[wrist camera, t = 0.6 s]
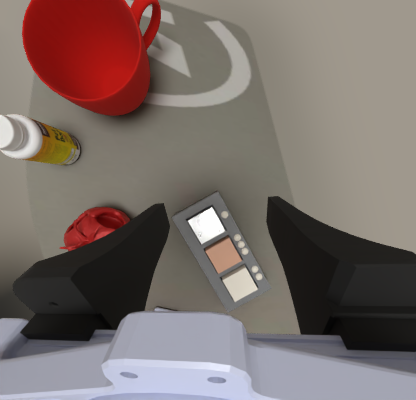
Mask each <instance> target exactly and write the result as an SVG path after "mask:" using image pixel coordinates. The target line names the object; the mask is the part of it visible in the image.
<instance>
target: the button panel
mask: <svg viewBox="0 0 416 400" xmlns="http://www.w3.org/2000/svg"><path fill="white" fill-rule="evenodd" d="M210 206H212V208H213V210H214V211H215V213H216V215H217V217H218V219H219V220H220V222H221V224H222V226H223V228H224V229H225V231H224V232H223V233H221V234H219V235H217V236H215V237H214V238H212V239H210V240H208V241H206V242H205V243H203V244H201V243H200V241H199V239H198V238H197V236H196V234H195V233H194V231H193V229H192V227H191V226H190V224H189V222H188V219H189V218H190V217H192V216H194V215H196V214H198V213H199V212H201V211H203V210H205V209H207V208H208V207H210ZM172 219H173V221H174V223H175V224H176V226H177V228H178V229H179V231H180V233H181V234H182V236H183V238H184V239H185V241H186V243H187V244H188V246H189V248H190V250H191V251H192V253H193V255H194V256H195V258H196V260H197V261H198V263H199V265H200V266H201V268H202V270H203V272H204V273H205V275H206V277H207V278H208V280H209V282H210V283H211V285H212V287H213V288H214V290H215V292H216V293H217V295H218V297H219V299H220V300H221V302H222V304H223V305H224V307H225V309H226V310H227V312H230V311H232V310H233V309H235V308H237V307H239V306H241V305H242V304H244V303H246V302H248V301H250V300H251V299H253V298H255V297H257V296H259V295H260V294H262V293H264V292H266V291H268V290H269V289H271V287H270V285H269V283H268V281H267V279H266V277H265V276H264V274H263V272H262V270H261V268H260V267H259V265H258V263H257V261H256V259H255V257H254V256H253V254H252V252H251V250H250V248H249V247H248V245H247V243H246V241H245V239H244V237H243V236H242V234H241V232H240V230H239V228H238V226H237V225H236V223H235V221H234V219H233V217H232V216H231V214H230V212H229V210H228V208H227V206H226V205H225V203H224V201H223V199H222V197H221V196H220V194H219V192H218V191H216V192H214V193H212V194H210V195H208V196H207V197H205V198H203V199H201V200H199V201H198V202H196V203H194V204H192V205H191V206H189V207H187V208H185V209H183V210H182V211H180V212H178V213H176V214H174V215H173V216H172ZM227 235H228V237H229V238H230V240H231V242H232V244H233V245H234V247H235V249H236V251H237V253H238V254H239V256H240V258H241V260H242V261H241V262H239V263H237V264H235V265H233V266H232V267H230V268H228V269H226V270H224V271H223V272H221V273H219V274H218V272H217V270H216V269H215V267H214V265H213V264H212V262H211V260H210V258H209V257H208V255H207V253H206V251H205V247H207V246H209V245H211V244H213V243H214V242H216V241H218V240H220V239H222V238H223V237H225V236H227ZM243 264H244V265H245V267H246V269H247V270H248V272H249V274H250V276H251V278H252V279H253V281H254V283H255V285H256V287H257V288H258V290H256V291H254V292H252V293H250V294H249V295H247V296H245V297H243V298H241V299H240V300H238V301H236V302H235V301H234V300H233V298H232V296H231V294H230V293H229V291H228V289H227V288H226V286H225V284H224V282H223V281H222V277H221V276H223V275H225V274H227V273H228V272H230V271H232V270H234V269H236V268H237V267H239V266H241V265H243Z"/></svg>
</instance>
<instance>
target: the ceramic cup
mask: <svg viewBox="0 0 416 400" xmlns="http://www.w3.org/2000/svg"><path fill="white" fill-rule="evenodd" d="M150 4H152V7H153V8H152V17H151V21H150V24H149V26H148V28H147V30H146V32H145V34H144V35H143V37H142V34H141V30H140V28H139V24H140V19H141V16H142V14H143V12H144V10H145V9H146V7H147V6H148V5H150ZM160 19H161V9H160V5H159V2H158V0H134V2H133V4H132V6H131V8H130V7H129V6H128V4H127V3H126V1H125V0H31V2H30V4H29V6H28V8H27V10H26V13H25V16H24V20H23V30H22V37H23V45H24V49H25V52H26V55H27V58H28V61H29V62H30V64H31V66H32V68H33V70H34V71H35V73H36V74H37V75H38V77H39V78H40V79H41V80H42V81H43V82H44V83H45V84H46V85H47V86H48V87H49V88H50V89H52V90H53V91H54V92H56V93H58V94H59V95H61V96H62V97H64V98H66V99H67V100H69V101H71V102H73V103H75V104H77V105H79V106H81V107H83V108H85V109H88V110H90V111H93V112H96V113H99V114H104V115H110V116H115V115H123V114H127V113H129V112H131V111H133V110H135V109H136V108H137V107H139V106H140V104H141V103H142V102H143V100H144V99H145V97H146V95H147V92H148V89H149V83H150V66H149V60H148V55H147V51H146V50H147V49H148V47H149V46H150V44H151V43H152V41H153V39H154V37H155V35H156V33H157V31H158V28H159V24H160Z"/></svg>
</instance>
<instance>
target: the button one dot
mask: <svg viewBox="0 0 416 400" xmlns="http://www.w3.org/2000/svg"><path fill="white" fill-rule="evenodd" d="M188 222H189V224H190V226H191V227H192V229H193V231H194V233H195V234H196V236H197V238H198V239H199V241H200V243H201V244H203V243H205V242H206V241H208V240H210V239H212V238H214V237H215V236H217V235H219V234H221V233H223V232H224V231H225V229H224V228H223V226H222V224H221V222H220V220H219V219H218V217H217V215H216V213H215V211H214V210H213V208H212V206H210V207H208V208H207V209H205V210H203V211H201V212H199V213H198V214H196V215H194V216H192V217H190V218H189V219H188Z"/></svg>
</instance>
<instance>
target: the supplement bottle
mask: <svg viewBox="0 0 416 400" xmlns="http://www.w3.org/2000/svg"><path fill="white" fill-rule="evenodd" d="M0 151H2V152H3V153H4V154H6V155H7V156H9V157H12V158H16V159H22V160H29V161H36V162H43V163H50V164H57V165H69V164H72V163H73V162H75V161H76V160H77V158H78V157H79V154H80V146H79V143H78V141H77V140H76V139H75V138H74V137H73V136H72V135H70V134H69V133H66V132H64V131H61V130H59V129H56V128H54V127H51V126H49V125H46V124H44V123H41V122H38V121H36V120H33V119H31V118H28V117H25V116H23V115H18V114H9V115H6V116H4V115H1V114H0Z"/></svg>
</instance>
